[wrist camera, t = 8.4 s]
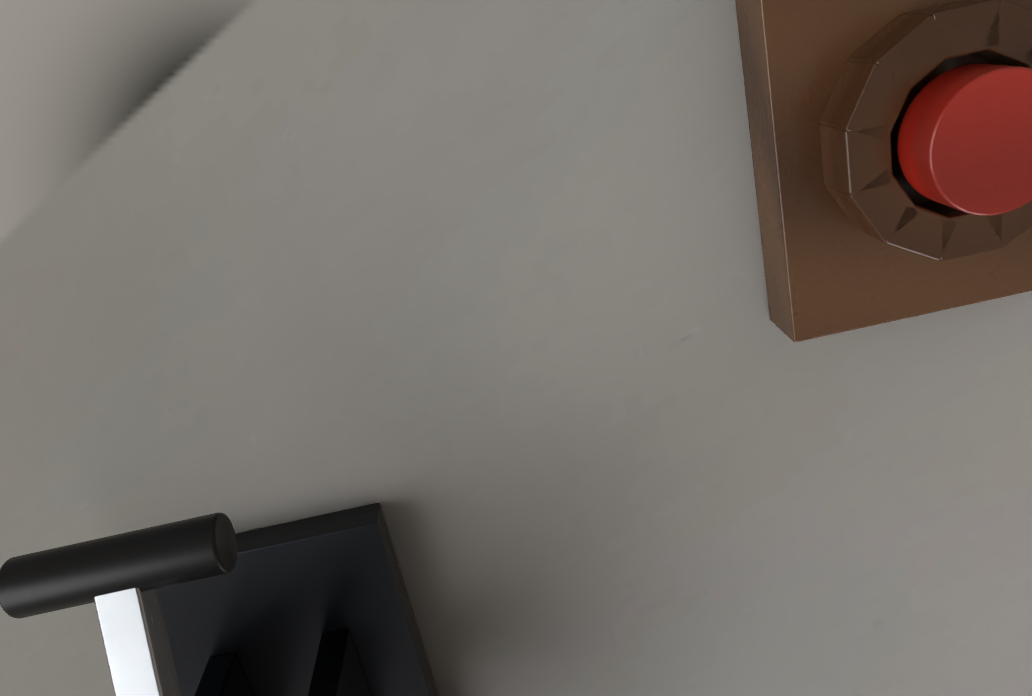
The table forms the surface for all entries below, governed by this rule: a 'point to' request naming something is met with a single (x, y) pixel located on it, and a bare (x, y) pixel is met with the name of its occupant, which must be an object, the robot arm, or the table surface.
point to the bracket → (301, 616)
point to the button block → (869, 159)
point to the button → (971, 139)
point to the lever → (124, 590)
